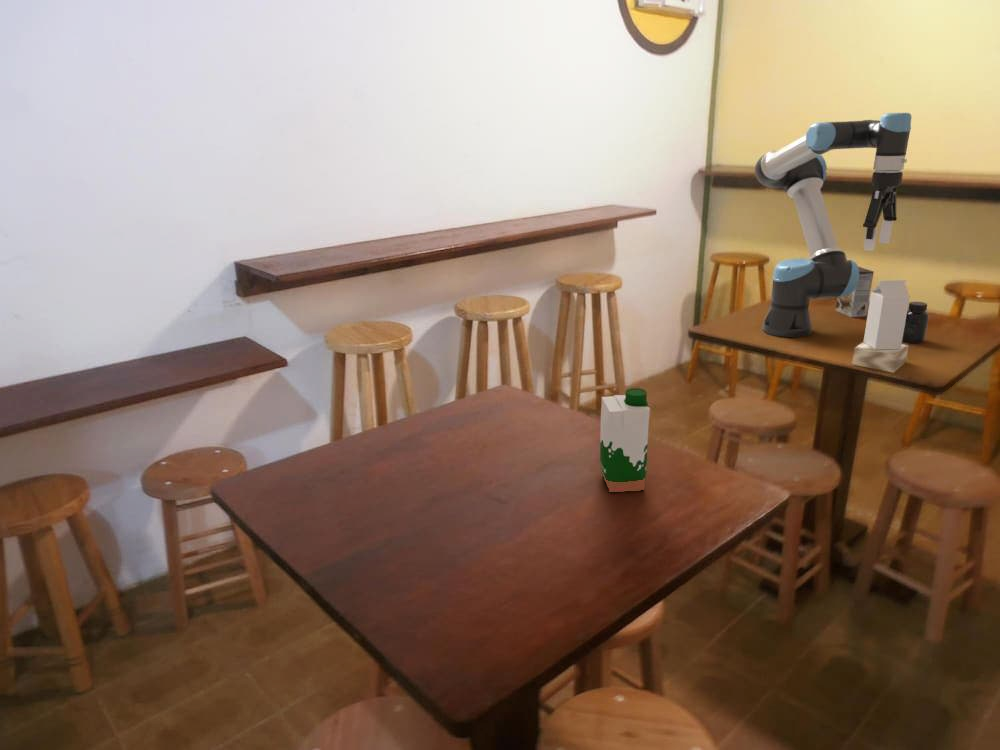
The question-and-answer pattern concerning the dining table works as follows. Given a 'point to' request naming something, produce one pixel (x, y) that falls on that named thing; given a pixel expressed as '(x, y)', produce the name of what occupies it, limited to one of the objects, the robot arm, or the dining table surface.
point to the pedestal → (880, 357)
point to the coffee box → (857, 296)
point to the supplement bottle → (916, 323)
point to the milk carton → (887, 315)
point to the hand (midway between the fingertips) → (876, 246)
